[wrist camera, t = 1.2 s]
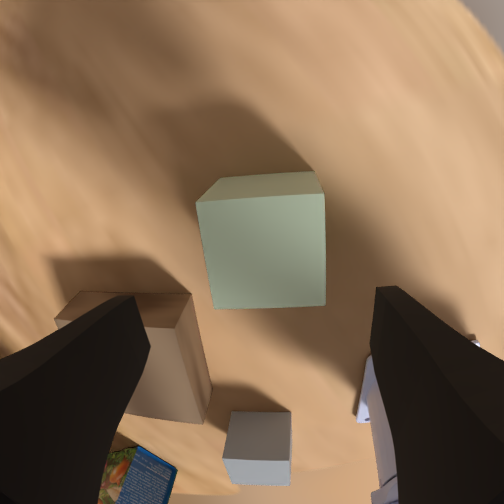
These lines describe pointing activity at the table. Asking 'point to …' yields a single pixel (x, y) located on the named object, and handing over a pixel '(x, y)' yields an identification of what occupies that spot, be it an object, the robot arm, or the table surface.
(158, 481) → the blue food package
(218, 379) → the table surface
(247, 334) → the table surface
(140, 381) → the walnut block
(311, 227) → the sage cube
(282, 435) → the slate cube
